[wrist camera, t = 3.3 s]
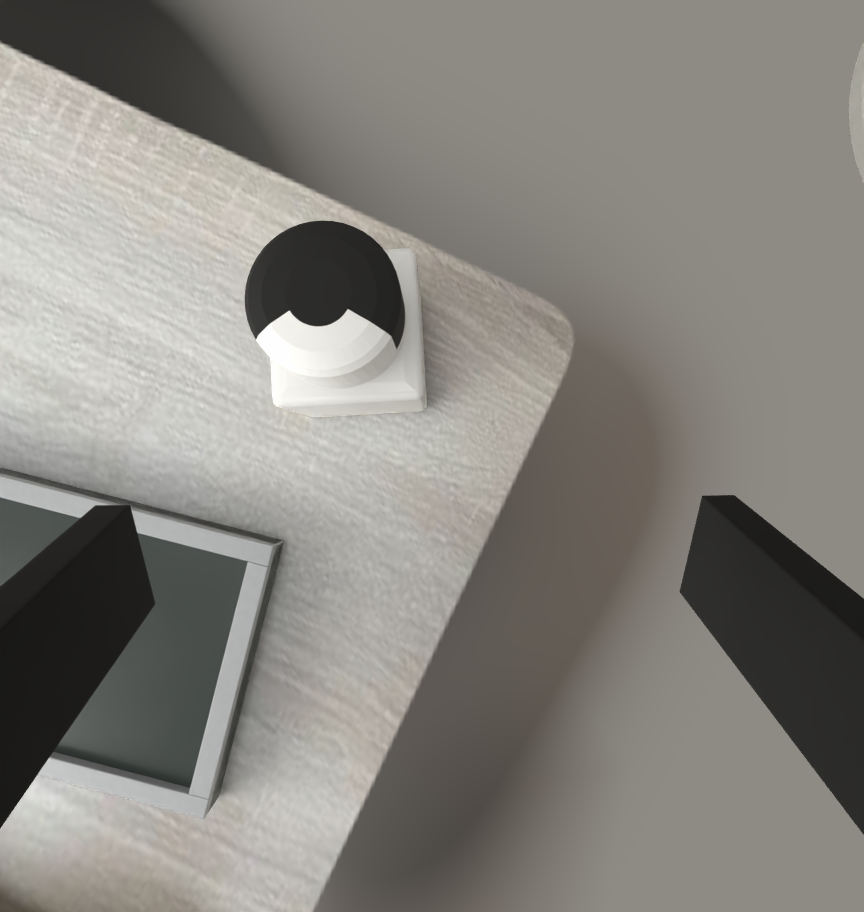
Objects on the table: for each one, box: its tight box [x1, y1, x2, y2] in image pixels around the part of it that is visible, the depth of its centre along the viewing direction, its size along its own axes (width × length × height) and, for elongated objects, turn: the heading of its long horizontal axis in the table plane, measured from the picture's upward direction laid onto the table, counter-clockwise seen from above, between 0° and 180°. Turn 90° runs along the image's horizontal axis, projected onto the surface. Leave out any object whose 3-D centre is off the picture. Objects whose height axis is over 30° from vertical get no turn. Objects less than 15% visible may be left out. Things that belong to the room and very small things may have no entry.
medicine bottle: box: [245, 221, 427, 418], centre depth 25 cm, size 7×7×12 cm
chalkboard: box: [0, 468, 283, 819], centre depth 30 cm, size 22×16×2 cm
